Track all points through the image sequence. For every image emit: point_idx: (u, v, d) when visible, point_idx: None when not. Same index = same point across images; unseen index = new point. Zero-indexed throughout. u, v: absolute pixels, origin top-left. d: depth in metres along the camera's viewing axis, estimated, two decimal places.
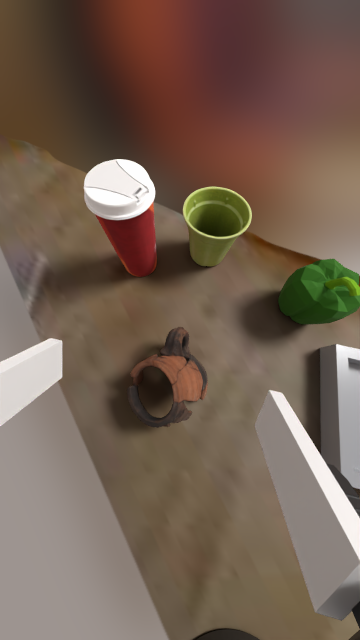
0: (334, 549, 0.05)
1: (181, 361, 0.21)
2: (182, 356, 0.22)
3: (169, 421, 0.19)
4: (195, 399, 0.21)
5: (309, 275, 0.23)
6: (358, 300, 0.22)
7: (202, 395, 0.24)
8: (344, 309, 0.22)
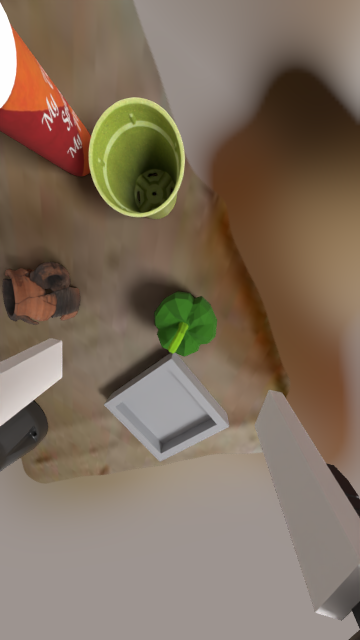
0: (334, 549, 0.05)
1: (37, 292, 0.25)
2: (42, 288, 0.26)
3: (12, 319, 0.27)
4: (38, 319, 0.27)
5: (171, 307, 0.22)
6: (185, 352, 0.23)
7: (61, 318, 0.30)
8: None
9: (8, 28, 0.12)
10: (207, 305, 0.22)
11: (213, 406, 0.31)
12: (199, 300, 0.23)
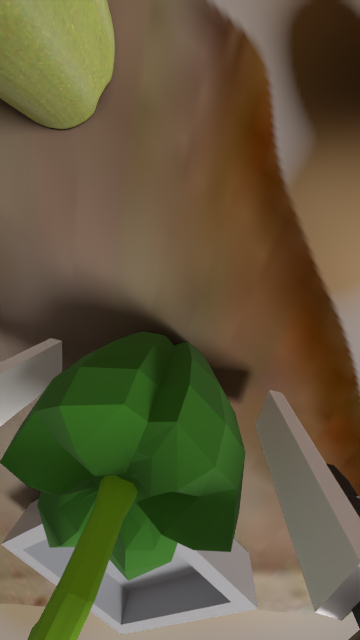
0: (334, 549, 0.05)
1: None
2: None
3: None
4: None
5: (56, 433, 0.05)
6: (131, 575, 0.06)
7: None
8: None
9: None
10: (210, 421, 0.05)
11: (224, 568, 0.14)
12: (177, 397, 0.06)
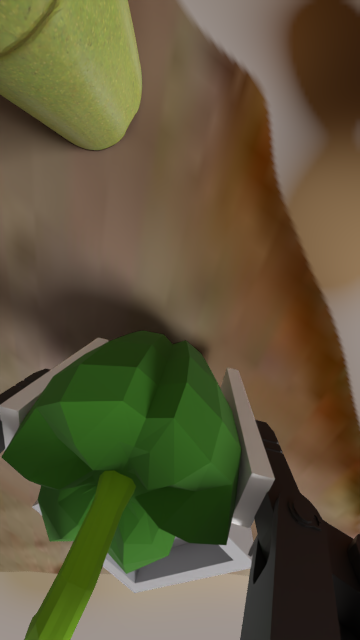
0: (242, 472, 0.07)
1: None
2: None
3: None
4: None
5: (56, 429, 0.05)
6: (129, 568, 0.07)
7: None
8: None
9: None
10: (207, 417, 0.05)
11: None
12: (175, 394, 0.06)
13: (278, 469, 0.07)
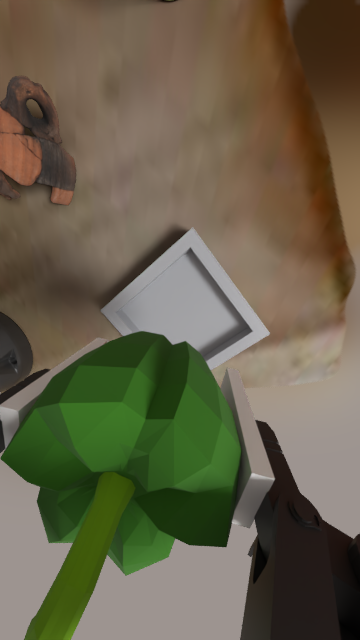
0: (242, 472, 0.07)
1: (12, 126, 0.18)
2: (20, 123, 0.18)
3: None
4: (18, 180, 0.20)
5: (55, 430, 0.05)
6: (129, 570, 0.07)
7: (51, 196, 0.23)
8: None
9: None
10: (206, 418, 0.05)
11: (248, 305, 0.23)
12: (174, 395, 0.06)
13: (278, 469, 0.07)
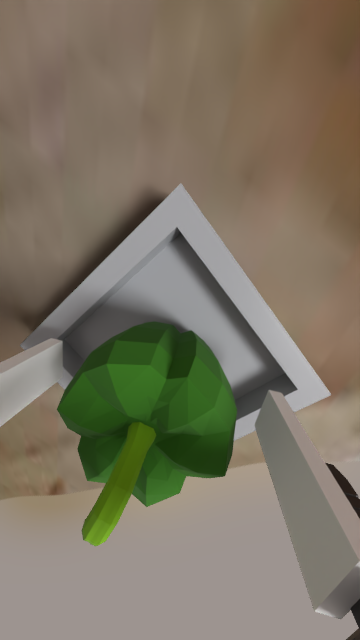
0: (333, 548, 0.05)
1: None
2: None
3: None
4: None
5: (100, 386, 0.07)
6: (150, 500, 0.08)
7: None
8: None
9: None
10: (211, 379, 0.07)
11: None
12: (187, 363, 0.08)
13: None
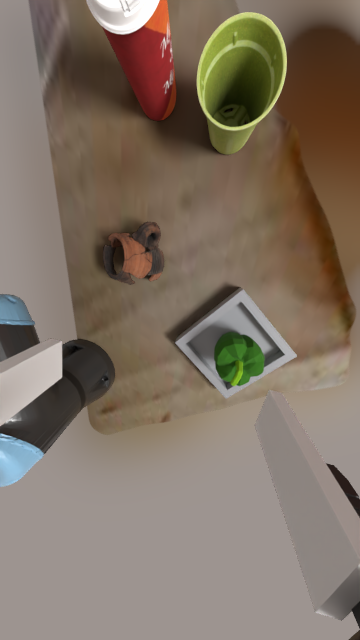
0: (334, 549, 0.05)
1: (140, 249, 0.29)
2: (143, 246, 0.29)
3: (116, 278, 0.31)
4: (138, 277, 0.31)
5: (230, 350, 0.29)
6: (240, 383, 0.30)
7: (150, 278, 0.34)
8: (228, 380, 0.31)
9: None
10: (258, 347, 0.29)
11: None
12: (251, 343, 0.29)
13: None
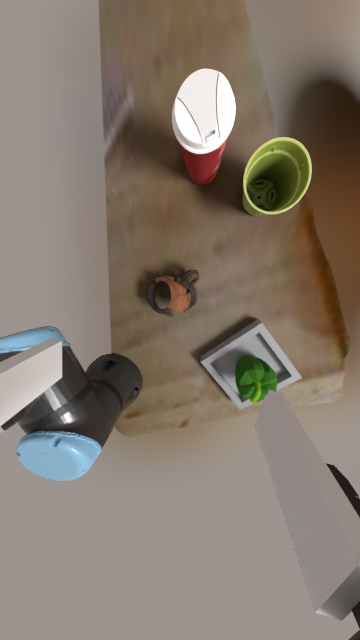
0: (334, 549, 0.05)
1: (183, 291, 0.36)
2: (186, 288, 0.36)
3: (160, 312, 0.37)
4: (178, 312, 0.38)
5: (251, 373, 0.36)
6: (257, 400, 0.37)
7: (185, 311, 0.41)
8: (247, 397, 0.38)
9: (234, 105, 0.22)
10: (273, 372, 0.36)
11: None
12: (268, 369, 0.36)
13: None
